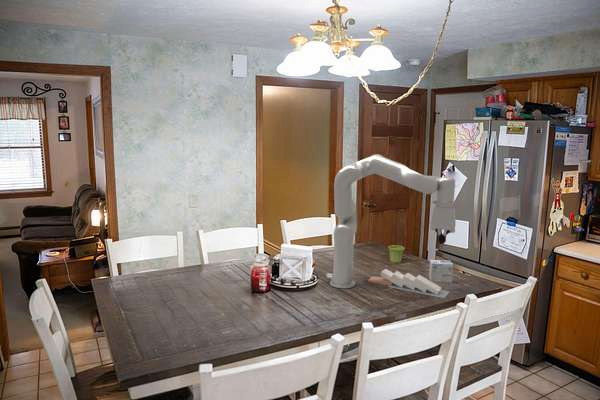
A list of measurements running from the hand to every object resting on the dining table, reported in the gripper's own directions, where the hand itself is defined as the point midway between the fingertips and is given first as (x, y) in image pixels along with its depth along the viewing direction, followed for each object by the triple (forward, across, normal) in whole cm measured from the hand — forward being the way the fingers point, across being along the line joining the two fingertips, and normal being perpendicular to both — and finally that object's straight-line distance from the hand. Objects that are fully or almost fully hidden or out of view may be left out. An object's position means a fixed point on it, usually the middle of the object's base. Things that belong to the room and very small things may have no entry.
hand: (441, 243), depth 208 cm
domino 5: (+23, 0, 0) cm, 23 cm away
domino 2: (+23, -16, 0) cm, 28 cm away
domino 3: (+23, -10, 0) cm, 25 cm away
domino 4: (+23, -5, 0) cm, 24 cm away
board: (+25, -9, 0) cm, 27 cm away
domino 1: (+23, -22, 0) cm, 32 cm away
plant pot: (+25, -35, +42) cm, 60 cm away
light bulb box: (+25, -4, +20) cm, 32 cm away
